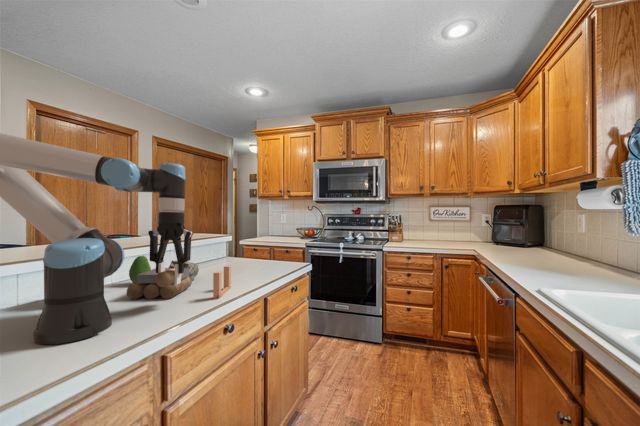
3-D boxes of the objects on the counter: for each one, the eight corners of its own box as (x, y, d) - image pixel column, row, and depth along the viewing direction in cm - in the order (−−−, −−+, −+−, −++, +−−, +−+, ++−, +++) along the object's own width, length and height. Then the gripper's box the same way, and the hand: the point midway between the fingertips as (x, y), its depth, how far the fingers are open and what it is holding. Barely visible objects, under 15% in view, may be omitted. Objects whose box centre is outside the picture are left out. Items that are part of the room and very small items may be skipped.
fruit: (154, 281, 123) (154, 254, 123) (144, 286, 116) (144, 257, 116) (135, 282, 123) (136, 254, 123) (124, 286, 115) (124, 257, 115)
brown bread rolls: (174, 298, 99) (174, 284, 99) (126, 299, 98) (126, 284, 98) (191, 288, 113) (191, 275, 113) (149, 288, 112) (149, 276, 112)
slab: (174, 283, 100) (174, 274, 100) (137, 283, 100) (137, 274, 100) (189, 275, 112) (189, 268, 112) (156, 275, 112) (156, 268, 112)
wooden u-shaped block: (219, 298, 99) (219, 273, 99) (213, 298, 99) (213, 273, 99) (230, 288, 113) (230, 265, 113) (225, 288, 113) (225, 265, 113)
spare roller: (163, 290, 88) (173, 278, 88) (152, 280, 88) (162, 269, 88) (176, 284, 96) (185, 273, 96) (166, 275, 96) (175, 264, 96)
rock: (188, 285, 116) (187, 261, 116) (163, 286, 115) (163, 262, 115) (201, 276, 134) (201, 255, 134) (180, 277, 133) (180, 255, 133)
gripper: (203, 212, 96) (201, 281, 96) (150, 211, 95) (148, 280, 95) (194, 212, 88) (191, 286, 88) (137, 210, 88) (134, 285, 88)
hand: (169, 283), depth 92 cm, fingers closed on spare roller, 4 cm apart
